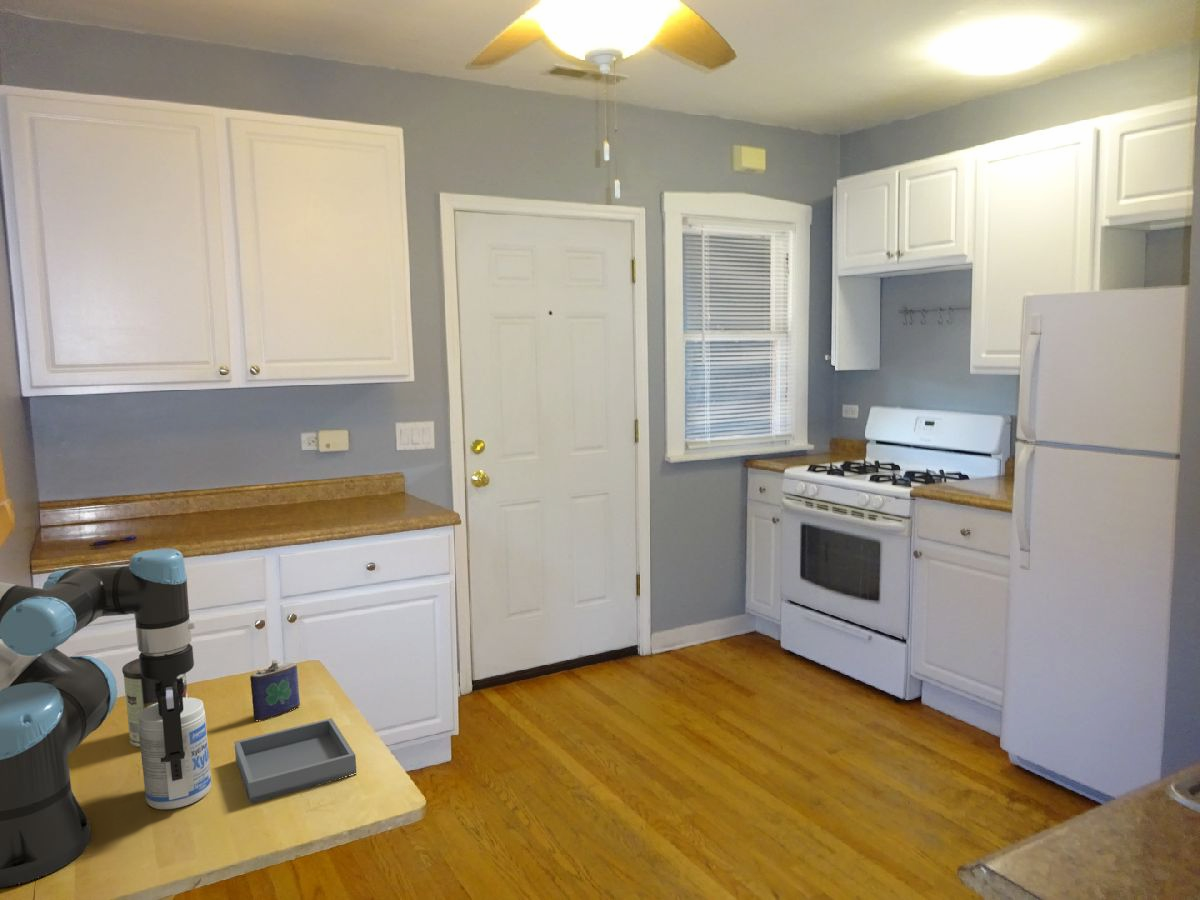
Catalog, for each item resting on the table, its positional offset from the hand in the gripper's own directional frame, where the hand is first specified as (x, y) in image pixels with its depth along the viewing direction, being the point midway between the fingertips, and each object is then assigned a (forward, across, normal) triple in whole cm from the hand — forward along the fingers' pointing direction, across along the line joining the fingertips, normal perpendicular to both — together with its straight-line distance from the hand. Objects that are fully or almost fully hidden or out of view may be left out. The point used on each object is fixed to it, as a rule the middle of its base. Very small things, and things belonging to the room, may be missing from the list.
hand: (178, 781), depth 134 cm
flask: (+3, +25, -18) cm, 31 cm away
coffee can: (+3, +26, +3) cm, 27 cm away
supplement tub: (+3, 0, 0) cm, 3 cm away
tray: (+2, 0, -18) cm, 18 cm away
